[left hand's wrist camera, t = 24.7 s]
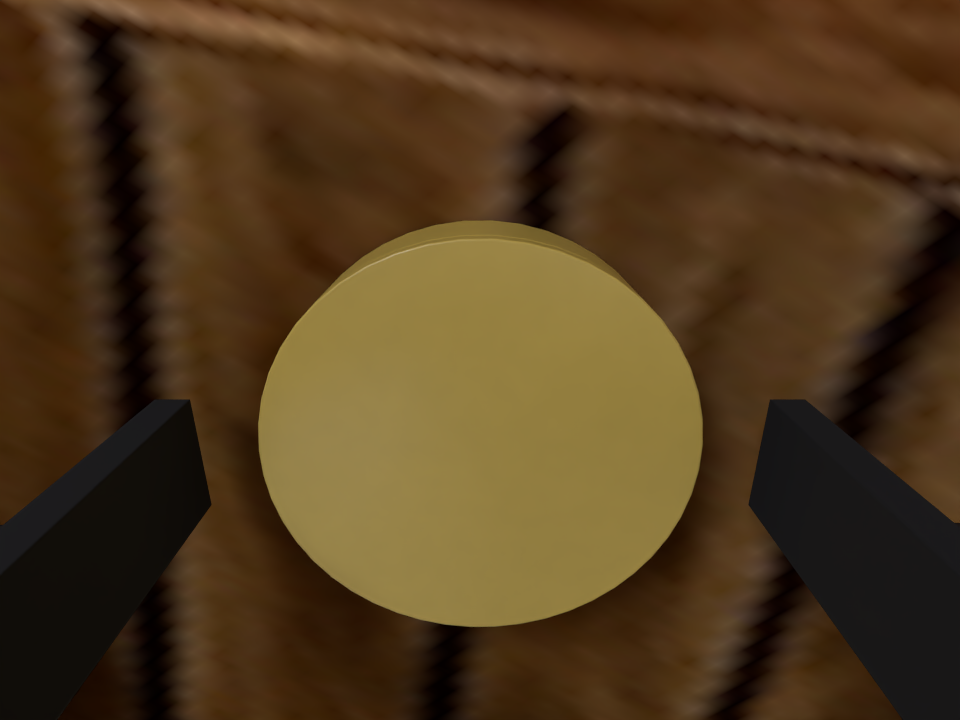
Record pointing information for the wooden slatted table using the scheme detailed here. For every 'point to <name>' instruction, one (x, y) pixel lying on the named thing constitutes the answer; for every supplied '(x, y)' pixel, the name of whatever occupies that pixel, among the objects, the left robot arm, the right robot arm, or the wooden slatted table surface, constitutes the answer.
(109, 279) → the wooden slatted table surface
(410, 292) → the lid
